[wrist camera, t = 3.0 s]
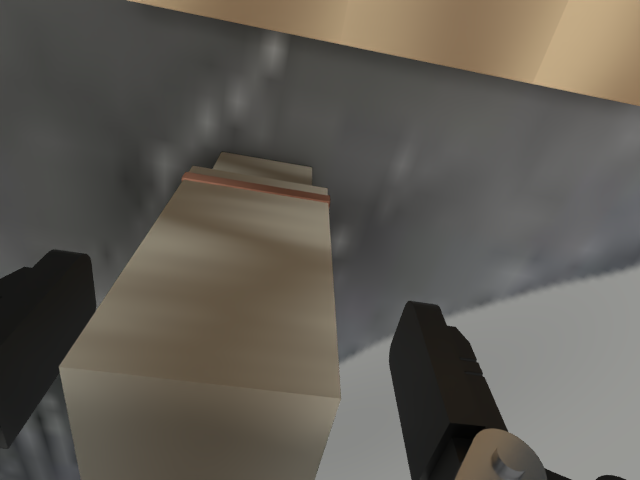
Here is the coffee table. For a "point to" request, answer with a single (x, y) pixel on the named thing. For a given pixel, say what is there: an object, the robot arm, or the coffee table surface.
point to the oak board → (468, 35)
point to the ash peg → (214, 337)
